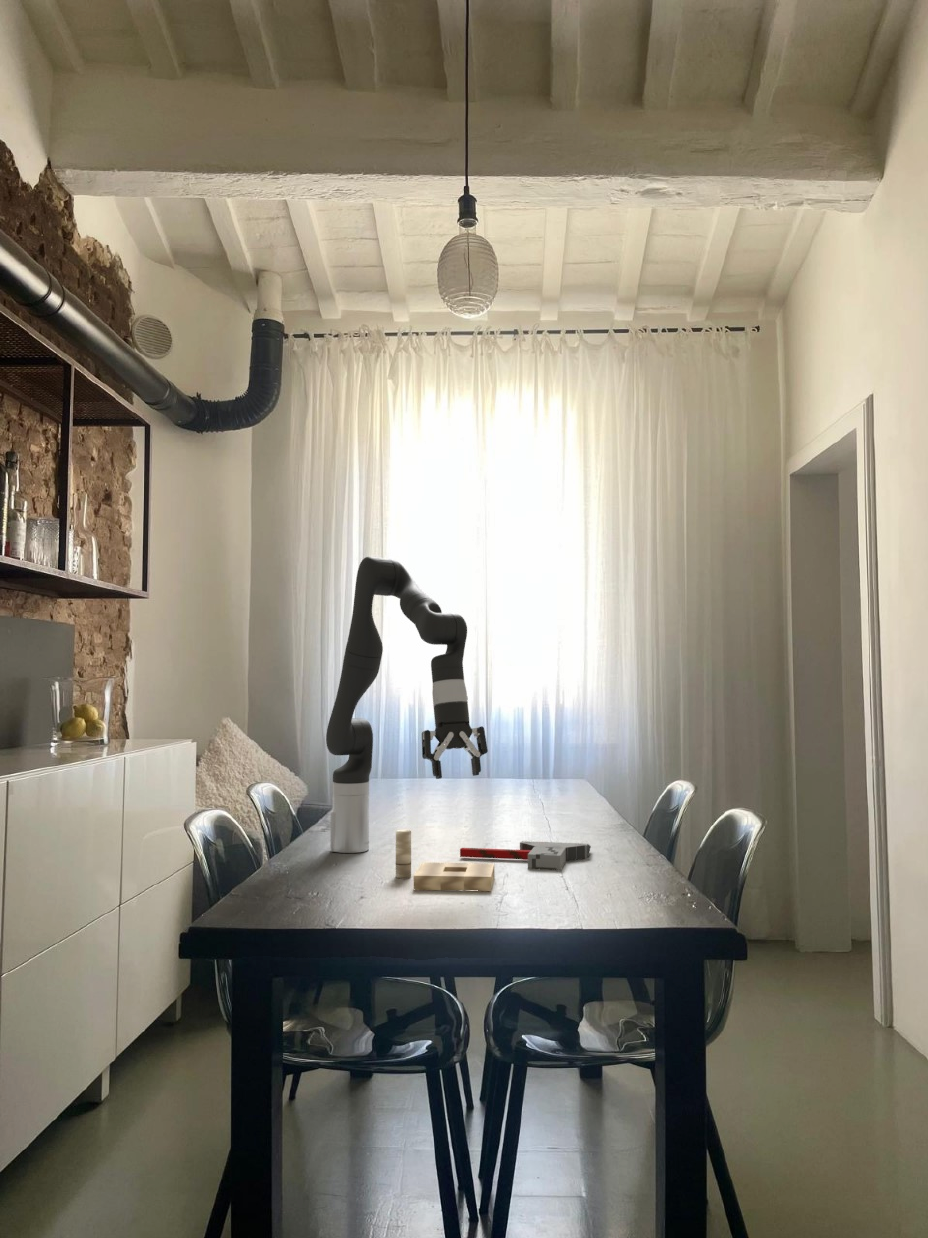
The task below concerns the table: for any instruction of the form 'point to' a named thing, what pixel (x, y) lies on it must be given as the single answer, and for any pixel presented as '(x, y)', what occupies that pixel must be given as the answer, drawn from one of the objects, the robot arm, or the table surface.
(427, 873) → the board
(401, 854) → the peg
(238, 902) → the table surface
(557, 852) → the toy hammer
